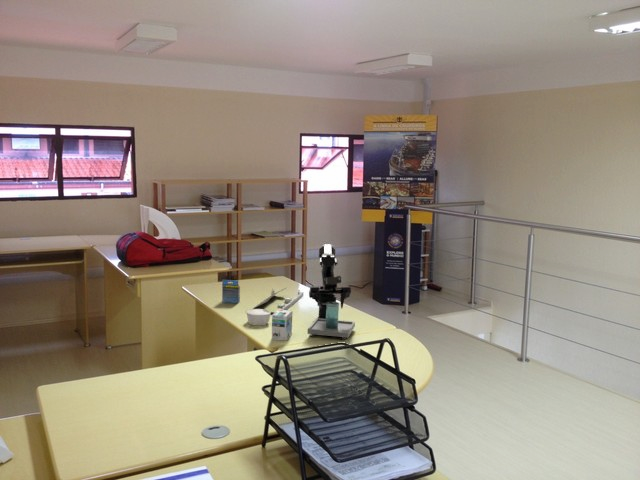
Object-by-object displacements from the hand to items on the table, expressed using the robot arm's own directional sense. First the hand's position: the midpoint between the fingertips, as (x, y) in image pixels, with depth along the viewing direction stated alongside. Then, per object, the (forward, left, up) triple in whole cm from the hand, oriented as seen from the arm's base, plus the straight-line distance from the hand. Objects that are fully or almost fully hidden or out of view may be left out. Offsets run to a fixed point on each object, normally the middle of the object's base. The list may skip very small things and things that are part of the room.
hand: (331, 308), depth 268 cm
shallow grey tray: (0, -1, -11) cm, 11 cm away
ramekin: (-36, +5, -12) cm, 38 cm away
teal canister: (0, -1, -8) cm, 8 cm away
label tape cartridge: (-61, +37, -12) cm, 72 cm away
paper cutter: (-38, +41, -12) cm, 58 cm away
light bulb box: (-20, -12, -12) cm, 26 cm away
